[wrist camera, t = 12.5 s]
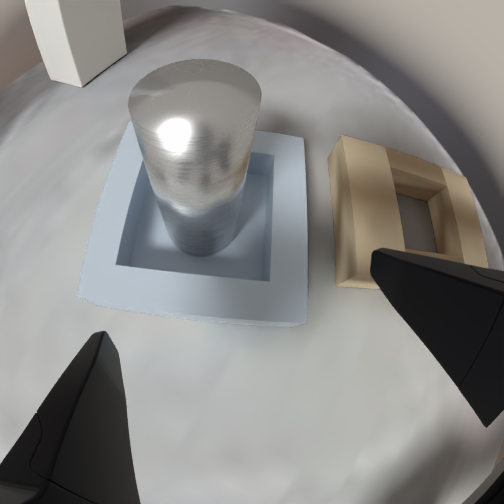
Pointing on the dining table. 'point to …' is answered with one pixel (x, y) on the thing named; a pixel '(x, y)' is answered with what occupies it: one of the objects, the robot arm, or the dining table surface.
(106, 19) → the milk carton
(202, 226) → the steel axle
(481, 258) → the tan rectangular frame
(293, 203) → the seat block
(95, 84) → the dining table surface
